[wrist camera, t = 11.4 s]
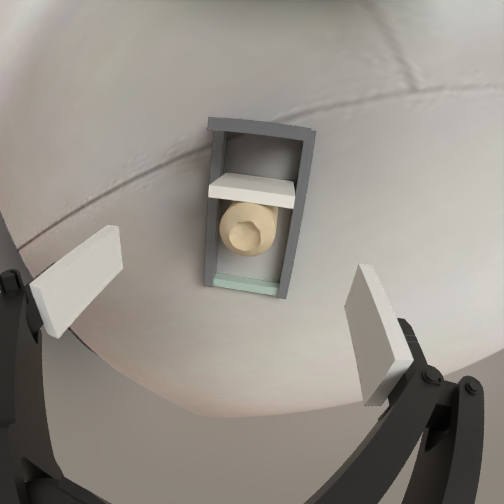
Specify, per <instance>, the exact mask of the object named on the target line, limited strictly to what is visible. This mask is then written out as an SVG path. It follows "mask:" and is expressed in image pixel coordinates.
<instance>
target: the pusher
mask: <svg viewBox="0 0 504 504" xmlns="http://www.w3.org/2000/svg"><path fill="white" fill-rule="evenodd" d="M208 197H211V198H220V199H228V200H235V201H243V202H250V203H257V204H264V205H271V206H278V207H284V208H291V209H293V208H294V202H295V190H294V182H293V181H287V180H280V179H274V178H267V177H259V176H252V175H244V174H235V173H225V174H224V175H222V176H221V177H219V178H218V179H217V180H215V181H214V182H213V183H211V184H210V185H209V193H208Z"/></svg>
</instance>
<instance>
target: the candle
mask: <svg viewBox="0 0 504 504" xmlns="http://www.w3.org/2000/svg"><path fill="white" fill-rule="evenodd" d="M277 216H278V206H271V205H264V204H257V203H250V202H243V201H235V200H234V201H233V202H232V204H231V205H230V206H229V208H228V209H227V211H226V212H225V213H224V215H223V216H222V219H221V221H220V226H219V230H220V236H221V239H222V241H223V242H224V244H225V245H226V246H227V247H228V248H229V249H230V250H231V251H233V252H234V253H236V254H239V255H242V256H256V255H259V254H261V253H263V252H265V251H266V250H267V249H268V248H269V247H270V246H271V245H272V243H273V241H274V239H275V234H276V225H277Z"/></svg>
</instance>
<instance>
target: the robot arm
mask: <svg viewBox="0 0 504 504" xmlns="http://www.w3.org/2000/svg"><path fill="white" fill-rule="evenodd" d="M122 269H123V264H122V255H121V246H120V236H119V226H113V225H107V226H106V227H104V228H103V229H101V230H100V231H98V232H97V233H95V234H94V235H93V236H91V237H90V238H88V239H87V240H85V241H84V242H83V243H81V244H80V245H79V246H77V247H76V248H74V249H73V250H72V251H70V252H69V253H68V254H66V255H65V256H64V257H62V258H61V259H60V260H58V261H57V262H55V263H53V264H52V265H50V266H49V267H48V268H46V270H44V271H43V272H41V274H39V275H38V276H36V277H35V278H34V279H33V280H32V281H31V282H29V283H28V284H27V285H26V286H25V287H24V285H23V282H22V279H21V275H20V272H19V271H18V270H16V269H10V270H7V271H5V272H3V273H1V274H0V290H1V293H0V504H111V503H109V502H107V501H105V500H104V499H102V498H100V497H98V496H97V495H95V494H93V493H92V492H90V491H88V490H86V489H84V488H83V487H81V486H79V485H77V484H76V483H74V482H72V481H70V480H69V479H67V478H65V477H64V475H63V473H62V471H61V469H60V467H59V466H58V464H57V463H56V461H55V458H54V455H53V450H52V446H51V441H50V435H49V430H48V424H47V417H46V409H45V400H44V389H43V376H42V333H41V330H40V327H41V326H42V325H43V324H44V326H45V329H46V331H47V333H48V334H49V335H51V336H53V337H56V338H58V339H59V338H60V336H61V335H62V334H63V333H64V332H65V330H66V329H67V328H68V327H69V326H70V325H71V324H72V323H73V321H74V320H75V319H76V318H77V317H78V316H79V315H80V314H81V312H82V311H83V310H84V309H85V308H86V307H87V306H88V305H89V304H90V303H91V302H92V300H93V299H94V298H95V297H96V296H97V295H98V294H99V293H100V292H101V291H102V290H103V289H104V288H105V287H106V286H107V285H108V284H109V283H110V281H111V280H112V279H113V278H114V277H115V276H116V275H117V274H118V273H119V272H120V271H121V270H122ZM344 307H345V311H346V316H347V320H348V324H349V329H350V333H351V338H352V343H353V348H354V352H355V358H356V363H357V368H358V373H359V379H360V384H361V390H362V396H363V403H364V406H381V405H382V404H383V403H384V401H385V400H386V399H387V398H388V400H389V407H388V408H387V409H386V410H385V411H384V413H383V414H382V415H381V416H380V417H379V419H378V422H377V423H376V424H375V426H374V427H373V428H372V430H371V431H370V432H369V434H368V435H367V436H366V438H365V439H364V440H363V441H362V442H361V444H360V445H359V446H358V448H357V449H356V450H355V451H354V452H353V454H352V455H351V456H350V457H349V458H348V459H347V460H346V461H345V463H344V464H343V465H342V466H341V467H340V468H339V469H338V470H337V472H336V473H335V474H334V475H333V476H332V477H331V478H330V479H329V480H328V481H327V482H326V483H325V484H324V485H323V486H322V487H321V488H320V489H319V490H318V491H317V492H316V493H315V494H314V495H313V496H312V497H311V498H309V499H308V500H307V501H306V502H305V503H304V504H378V502H379V501H380V500H381V498H382V497H383V496H384V494H385V493H386V492H387V490H388V489H389V487H390V486H391V484H392V483H393V481H394V480H395V479H396V477H397V475H398V474H399V472H400V471H401V469H402V468H403V466H404V464H405V463H406V461H407V459H408V458H409V456H410V454H411V453H412V451H413V449H414V447H415V446H416V444H417V442H418V440H419V438H420V436H421V434H422V432H423V435H422V439H421V443H420V448H419V451H418V455H417V459H416V462H415V466H414V469H413V472H412V475H411V478H410V482H409V484H408V487H407V490H406V493H405V496H404V498H403V501H402V504H474V503H475V498H476V493H477V488H478V482H479V476H480V469H481V461H482V451H483V437H484V391H483V387H482V385H481V384H480V382H479V381H478V380H477V379H475V378H474V377H471V376H464V377H463V378H462V379H461V380H460V381H459V382H458V384H456V383H452V382H449V381H445V380H444V379H443V376H442V374H441V373H440V371H439V370H437V369H436V368H435V367H433V366H430V365H428V364H427V361H426V359H425V357H424V354H423V352H422V350H421V347H420V345H419V343H418V340H417V338H416V336H415V334H414V331H413V329H412V327H411V326H410V325H409V323H408V322H407V321H406V320H405V319H401V318H396V315H395V313H394V311H393V309H392V306H391V304H390V302H389V300H388V298H387V295H386V293H385V291H384V289H383V287H382V285H381V283H380V281H379V279H378V277H377V275H376V273H375V271H374V269H373V267H372V266H371V265H365V264H358V268H357V271H356V274H355V277H354V280H353V283H352V286H351V289H350V292H349V295H348V298H347V301H346V303H345V306H344ZM25 481H26V482H25Z"/></svg>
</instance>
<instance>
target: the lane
mask: <svg viewBox="0 0 504 504" xmlns="http://www.w3.org/2000/svg"><path fill="white" fill-rule="evenodd" d="M207 130H214V132H213V143H212V154H211V166H210V179H209V185H210V184H211V183H213V182H214V181H215V180H217V179H218V178H219V177H221V176H222V175H223V172H224V161H225V151H226V141H227V131H228V132H239V133H249V134H258V135H267V136H274V137H282V138H288V139H295V140H301V141H303V142H302V149H301V156H300V163H299V169H298V176H297V182H296V189H295V202H294V208H293V209H292V214H291V220H290V225H289V231H288V237H287V243H286V248H285V254H284V260H283V265H282V271H281V276H280V281H279V283H276V282H269V281H263V280H256V279H250V278H244V277H237V276H231V275H225V274H219V273H216V266H217V250H218V235H219V221H220V208H221V199H220V198H211V197H208V208H207V225H206V245H205V271H204V286H207V287H213V286H219V287H224V288H230V289H236V290H242V291H249V292H255V293H261V294H268V295H274V296H277V298H281V299H286V297H287V292H288V287H289V282H290V278H291V273H292V268H293V263H294V258H295V253H296V248H297V242H298V237H299V232H300V226H301V221H302V216H303V210H304V204H305V198H306V193H307V187H308V181H309V175H310V168H311V162H312V156H313V149H314V142H315V135H316V131H312V130H311V129H310V128H304V127H298V126H292V125H285V124H278V123H270V122H261V121H252V120H242V119H230V118H214V117H208V127H207Z"/></svg>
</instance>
